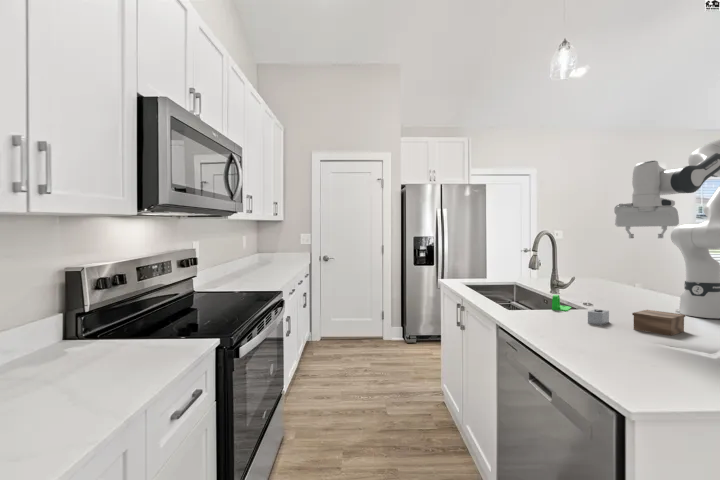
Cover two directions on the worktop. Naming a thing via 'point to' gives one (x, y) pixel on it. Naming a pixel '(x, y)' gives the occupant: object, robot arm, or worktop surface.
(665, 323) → the walnut stand
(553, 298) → the mechanical part
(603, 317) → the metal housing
